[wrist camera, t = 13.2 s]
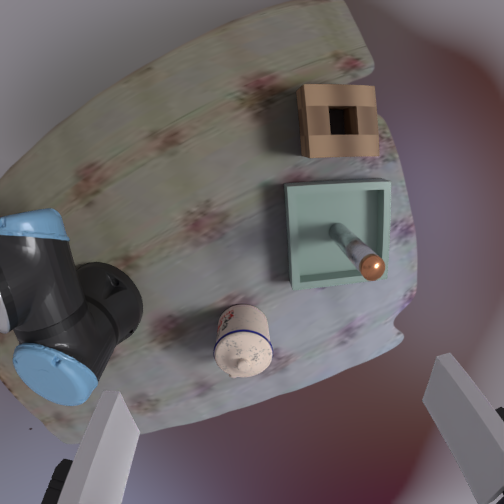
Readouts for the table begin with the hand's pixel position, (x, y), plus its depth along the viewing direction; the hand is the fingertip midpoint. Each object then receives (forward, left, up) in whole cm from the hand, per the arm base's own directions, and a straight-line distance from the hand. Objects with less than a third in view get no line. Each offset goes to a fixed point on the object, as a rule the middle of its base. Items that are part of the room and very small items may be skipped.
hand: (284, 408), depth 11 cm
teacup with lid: (-4, -22, -39) cm, 45 cm away
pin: (+13, -5, -38) cm, 40 cm away
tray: (+13, -5, -39) cm, 41 cm away
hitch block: (+13, +12, -39) cm, 43 cm away
